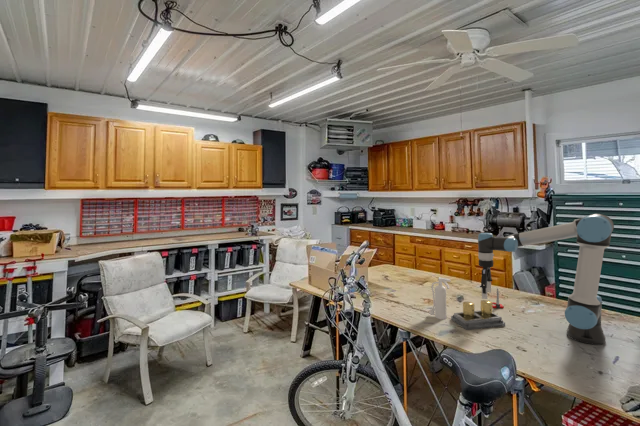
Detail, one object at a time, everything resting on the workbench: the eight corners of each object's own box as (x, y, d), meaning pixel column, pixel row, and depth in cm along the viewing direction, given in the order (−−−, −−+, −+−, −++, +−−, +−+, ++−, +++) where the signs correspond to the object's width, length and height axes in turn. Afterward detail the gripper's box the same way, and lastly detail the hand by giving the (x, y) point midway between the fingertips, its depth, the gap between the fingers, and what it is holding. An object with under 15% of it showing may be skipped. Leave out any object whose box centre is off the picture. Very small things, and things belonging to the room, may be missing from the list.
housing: (505, 326, 174) (505, 305, 174) (466, 330, 171) (466, 309, 170) (487, 315, 189) (487, 296, 188) (451, 319, 186) (451, 299, 185)
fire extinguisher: (429, 313, 196) (430, 275, 193) (449, 316, 190) (451, 277, 188) (427, 317, 190) (428, 278, 187) (448, 321, 184) (450, 280, 182)
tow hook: (486, 303, 210) (491, 308, 201) (485, 285, 210) (491, 288, 201) (499, 304, 209) (505, 308, 200) (499, 285, 208) (505, 289, 199)
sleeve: (494, 320, 178) (494, 303, 177) (485, 321, 177) (485, 304, 177) (487, 316, 184) (487, 299, 183) (478, 316, 183) (478, 300, 182)
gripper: (489, 264, 166) (490, 302, 167) (496, 256, 186) (497, 290, 187) (474, 263, 171) (475, 300, 172) (482, 255, 191) (483, 288, 192)
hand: (486, 295), depth 180 cm, fingers open, 13 cm apart
